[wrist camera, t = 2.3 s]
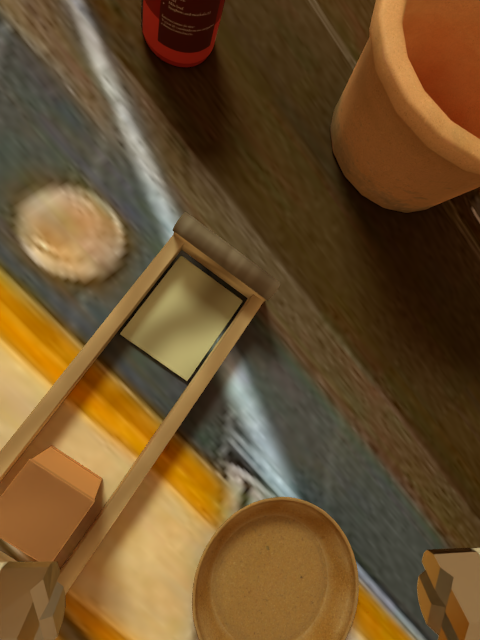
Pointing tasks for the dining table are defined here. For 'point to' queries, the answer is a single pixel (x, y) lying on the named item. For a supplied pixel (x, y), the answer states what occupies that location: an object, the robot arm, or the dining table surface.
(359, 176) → the pottery
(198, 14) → the canned food
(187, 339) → the bay
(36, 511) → the orange brown block
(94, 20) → the dining table surface
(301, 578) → the plant saucer
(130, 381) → the dining table surface
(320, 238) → the dining table surface
